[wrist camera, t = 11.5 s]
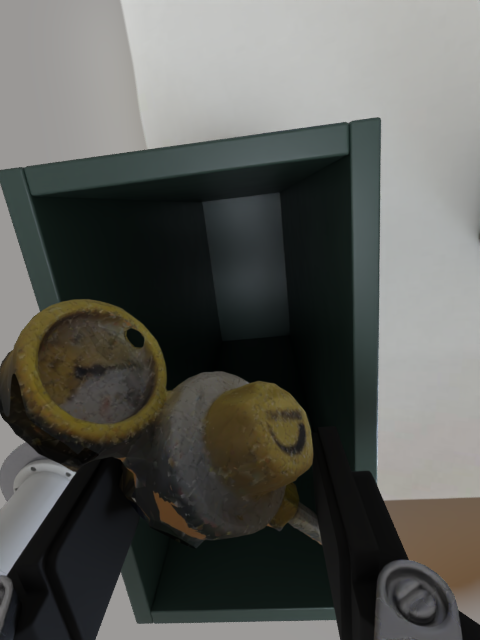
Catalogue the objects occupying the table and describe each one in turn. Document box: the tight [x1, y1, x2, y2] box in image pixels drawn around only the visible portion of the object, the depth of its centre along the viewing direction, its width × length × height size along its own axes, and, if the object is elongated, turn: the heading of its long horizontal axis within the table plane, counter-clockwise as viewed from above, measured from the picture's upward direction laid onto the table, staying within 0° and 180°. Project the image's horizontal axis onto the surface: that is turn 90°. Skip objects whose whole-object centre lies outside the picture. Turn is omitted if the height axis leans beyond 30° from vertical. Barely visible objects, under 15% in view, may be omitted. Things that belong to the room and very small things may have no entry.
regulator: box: [0, 299, 322, 549], centre depth 10 cm, size 8×4×15 cm
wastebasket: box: [0, 117, 381, 624], centre depth 28 cm, size 11×19×33 cm, turn 7°
